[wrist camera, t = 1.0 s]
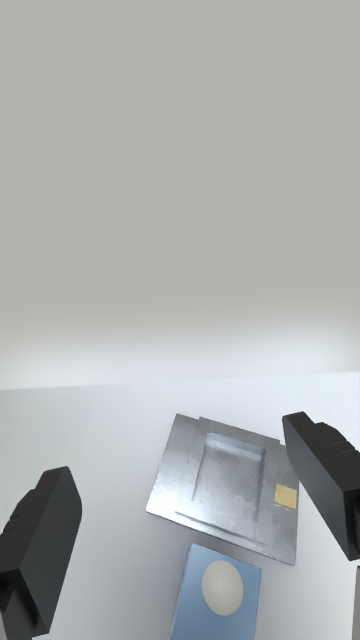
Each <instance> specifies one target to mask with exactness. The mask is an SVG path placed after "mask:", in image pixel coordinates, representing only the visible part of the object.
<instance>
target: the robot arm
mask: <svg viewBox="0 0 360 640" xmlns="http://www.w3.org/2000/svg"><path fill="white" fill-rule="evenodd" d="M282 423H283V430H284V437H285V443H286V450H287V455H288V458H289V461H290V464H291V466H292V468H293V470H294V472H295V473H296V475H297V477H298V478H299V480H300V482H301V483H302V485H303V487H304V488H305V490H306V491H307V493H308V495H309V496H310V498H311V500H312V501H313V503H314V504H315V506H316V508H317V509H318V511H319V513H320V514H321V516H322V518H323V519H324V521H325V522H326V524H327V526H328V527H329V529H330V531H331V532H332V534H333V536H334V537H335V539H336V540H337V542H338V544H339V545H340V547H341V549H342V550H343V552H344V553H345V555H346V557H347V558H348V560H349V561H353V560H357V559H360V452H359V451H358V450H355V447H354V446H353V445H352V444H351V443H350V442H349V441H348V442H347V440H346V438H345V437H344V436H343V435H342V434H341V433H340V432H339V431H338V430H337V429H335V428H333V427H331V426H329V425H327V424H325V423H323V422H320V423H316V424H315V423H314V422H313V421H312V420H311V419H310V418H309V417H308V416H307V415H306V413H305V412H303V411H302V412H298V413H294V414H289V415H285V416H283V417H282ZM81 517H82V503H81V499H80V496H79V493H78V491H77V488H76V485H75V482H74V480H73V477H72V474H71V471H70V469H69V468H68V467H67V466H64V467H60V468H56V469H51V470H47V471H45V472H44V473H43V474H42V476H41V478H40V480H39V482H38V484H37V486H36V488H35V489H32V490H30V491H29V492H28V493H27V494H26V495H25V496H24V497H23V498H22V500H21V501H20V502H19V503H18V504H17V506H16V508H15V509H14V511H13V513H12V515H11V517H10V521H8V522H7V524H6V526H5V528H4V529H3V533H1V535H0V640H32V637H36V636H40V635H44V634H48V633H49V631H50V627H51V624H52V620H53V617H54V613H55V610H56V606H57V603H58V599H59V596H60V592H61V589H62V585H63V582H64V578H65V575H66V571H67V568H68V564H69V561H70V557H71V553H72V550H73V546H74V543H75V539H76V536H77V532H78V529H79V525H80V522H81ZM352 640H360V566H358V567H357V573H356V586H355V600H354V615H353V629H352Z"/></svg>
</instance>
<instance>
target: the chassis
mask: <svg viewBox="0 0 360 640" xmlns="http://www.w3.org/2000/svg"><path fill="white" fill-rule="evenodd" d="M298 497H299V478H298V477H297V475H296V473H295V472H294V470H293V468H292V466H291V464H290V461H289V458H288V455H287V450H286V446H284V445H281V444H280V440H277V439H273V438H270V437H267V436H263V435H260V434H257V433H253V432H250V431H247V430H243V429H240V428H236V427H233V426H230V425H226V424H223V423H220V422H216V421H213V420H209V419H206V418H203V417H200V418H199V420H197V419H194V418H191V417H187V416H184V415H181V414H176V417H175V420H174V423H173V427H172V430H171V433H170V436H169V439H168V442H167V445H166V448H165V451H164V455H163V458H162V461H161V464H160V467H159V470H158V473H157V476H156V479H155V483H154V486H153V489H152V492H151V495H150V498H149V501H148V504H147V508H146V512H148V513H151V514H154V515H157V516H159V517H162V518H165V519H167V520H170V521H173V522H175V523H178V524H181V525H184V526H186V527H189V528H192V529H194V530H197V531H200V532H202V533H205V534H208V535H211V536H213V537H216V538H219V539H221V540H224V541H227V542H229V543H232V544H235V545H237V546H240V547H243V548H246V549H248V550H251V551H254V552H256V553H259V554H262V555H264V556H267V557H270V558H273V559H275V560H278V561H281V562H283V563H286V564H289V565H293V566H295V558H296V538H297V517H298Z"/></svg>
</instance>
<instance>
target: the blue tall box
mask: <svg viewBox="0 0 360 640" xmlns="http://www.w3.org/2000/svg"><path fill="white" fill-rule="evenodd" d="M260 575H261V569H260V568H258V567H255V566H252V565H250V564H247V563H244V562H242V561H239V560H237V559H234V558H231V557H229V556H226V555H223V554H221V553H218V552H216V551H213V550H210V549H208V548H205V547H202V546H200V545H197V544H194V543H192V544H191V546H190V547H189V550H188V554H187V559H186V563H185V568H184V572H183V576H182V581H181V585H180V589H179V594H178V598H177V603H176V607H175V611H174V616H173V620H172V627H171V635H170V640H254V633H255V623H256V614H257V604H258V594H259V585H260Z"/></svg>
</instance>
